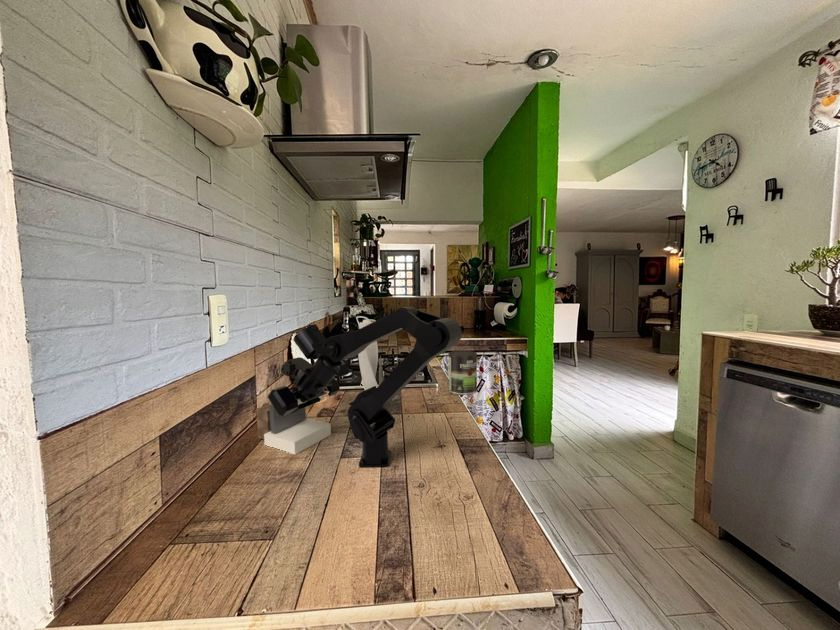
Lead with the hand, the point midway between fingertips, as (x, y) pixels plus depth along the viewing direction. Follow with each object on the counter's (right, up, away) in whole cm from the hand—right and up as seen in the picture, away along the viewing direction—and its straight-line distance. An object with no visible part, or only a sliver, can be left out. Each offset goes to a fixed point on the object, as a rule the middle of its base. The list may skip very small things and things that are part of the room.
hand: (291, 411), depth 88 cm
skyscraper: (+14, -4, +43) cm, 46 cm away
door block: (+2, -7, 0) cm, 7 cm away
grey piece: (-3, -4, +2) cm, 6 cm away
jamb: (-5, -7, +3) cm, 9 cm away
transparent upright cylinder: (+49, -3, +38) cm, 62 cm away
